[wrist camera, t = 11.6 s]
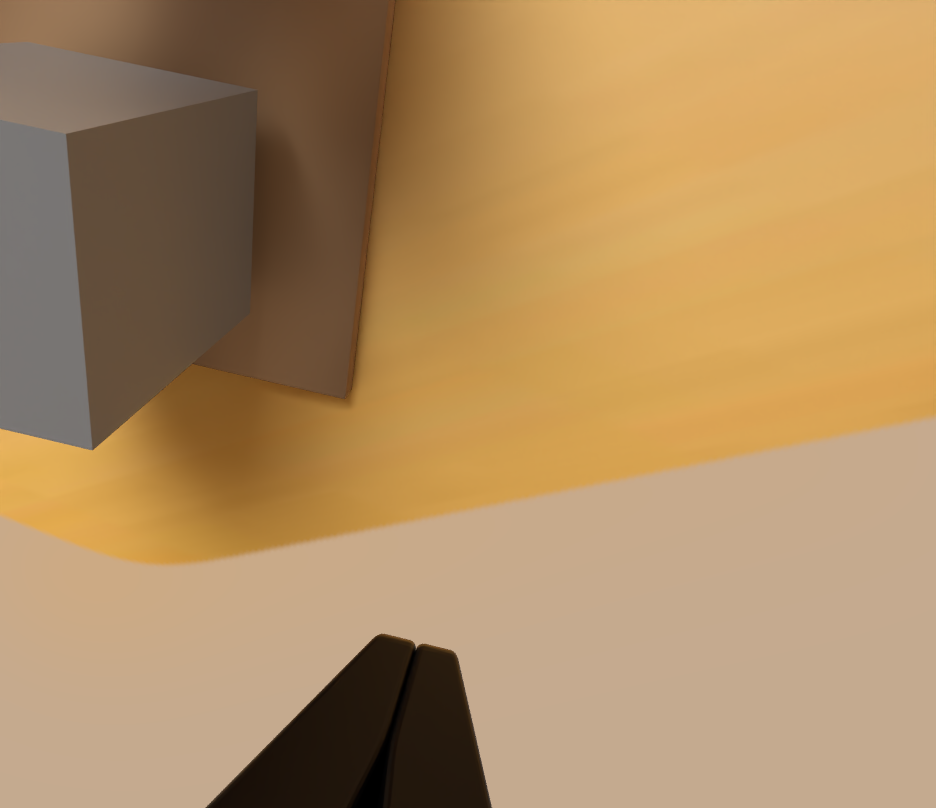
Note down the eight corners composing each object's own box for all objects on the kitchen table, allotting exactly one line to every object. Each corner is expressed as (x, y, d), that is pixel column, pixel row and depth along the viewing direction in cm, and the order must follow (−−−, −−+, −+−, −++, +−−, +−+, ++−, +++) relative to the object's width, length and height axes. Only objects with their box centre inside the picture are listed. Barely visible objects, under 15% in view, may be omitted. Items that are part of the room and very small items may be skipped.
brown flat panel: (396, -15, 16) (256, -33, 9) (351, 389, 21) (237, 565, 14) (-40, -103, 17) (-465, -180, 10) (13, 311, 21) (-249, 446, 15)
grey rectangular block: (257, 90, 16) (65, 133, 10) (249, 313, 18) (92, 449, 13) (27, 41, 16) (-286, 58, 10) (51, 268, 19) (-193, 383, 13)
